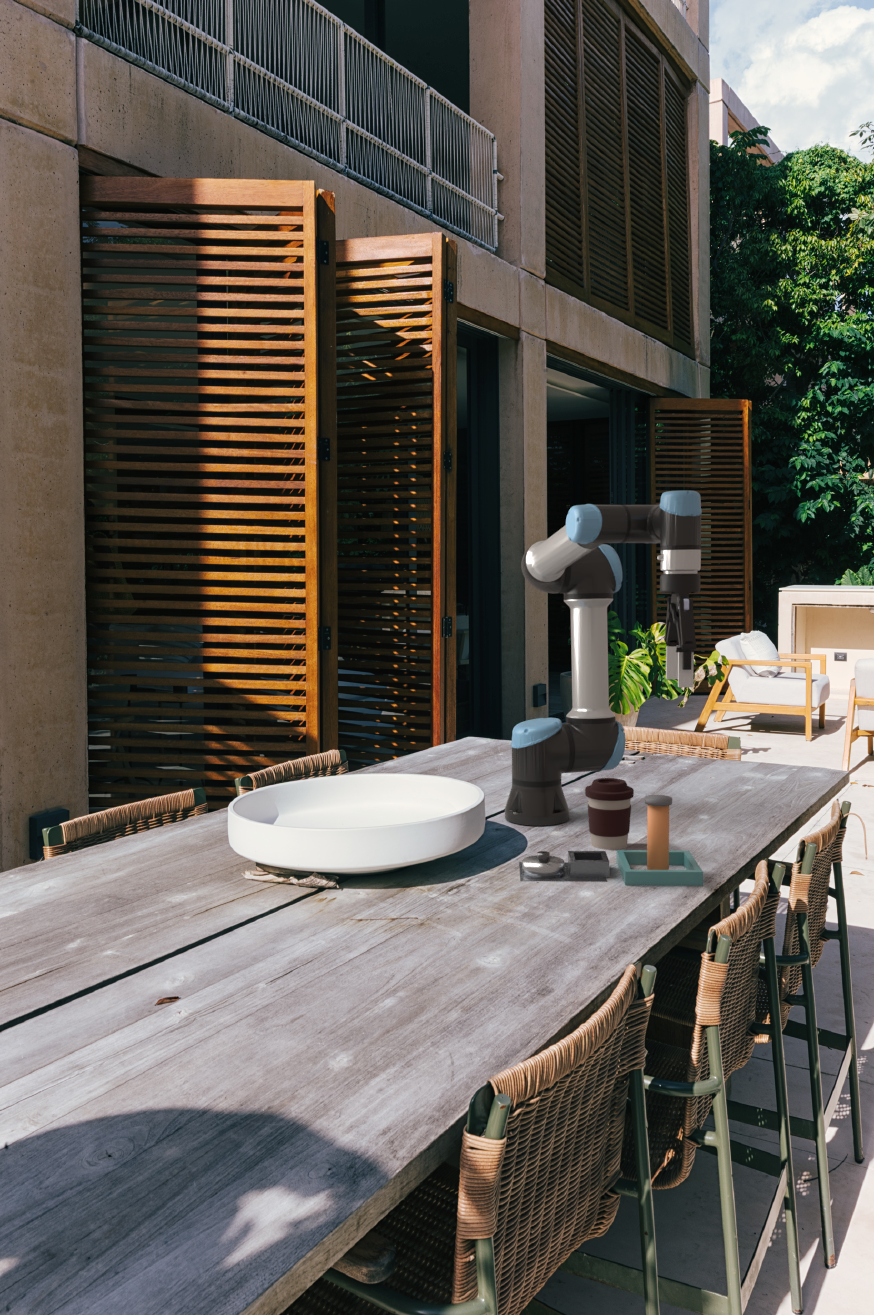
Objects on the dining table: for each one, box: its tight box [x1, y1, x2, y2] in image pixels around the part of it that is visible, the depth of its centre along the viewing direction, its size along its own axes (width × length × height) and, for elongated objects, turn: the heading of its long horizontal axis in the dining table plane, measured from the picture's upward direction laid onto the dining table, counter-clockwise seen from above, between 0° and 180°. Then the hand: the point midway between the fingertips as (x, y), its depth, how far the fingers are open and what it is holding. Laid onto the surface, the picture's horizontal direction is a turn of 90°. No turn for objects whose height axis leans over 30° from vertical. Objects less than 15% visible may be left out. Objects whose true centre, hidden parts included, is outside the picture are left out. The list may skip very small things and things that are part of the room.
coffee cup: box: [584, 777, 635, 851], centre depth 212 cm, size 10×10×15 cm
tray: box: [615, 849, 704, 887], centre depth 192 cm, size 14×14×4 cm
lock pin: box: [644, 794, 673, 870], centre depth 191 cm, size 5×5×15 cm
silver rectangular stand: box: [518, 850, 610, 883], centre depth 194 cm, size 12×17×5 cm
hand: (679, 683), depth 196 cm, fingers open, 13 cm apart
